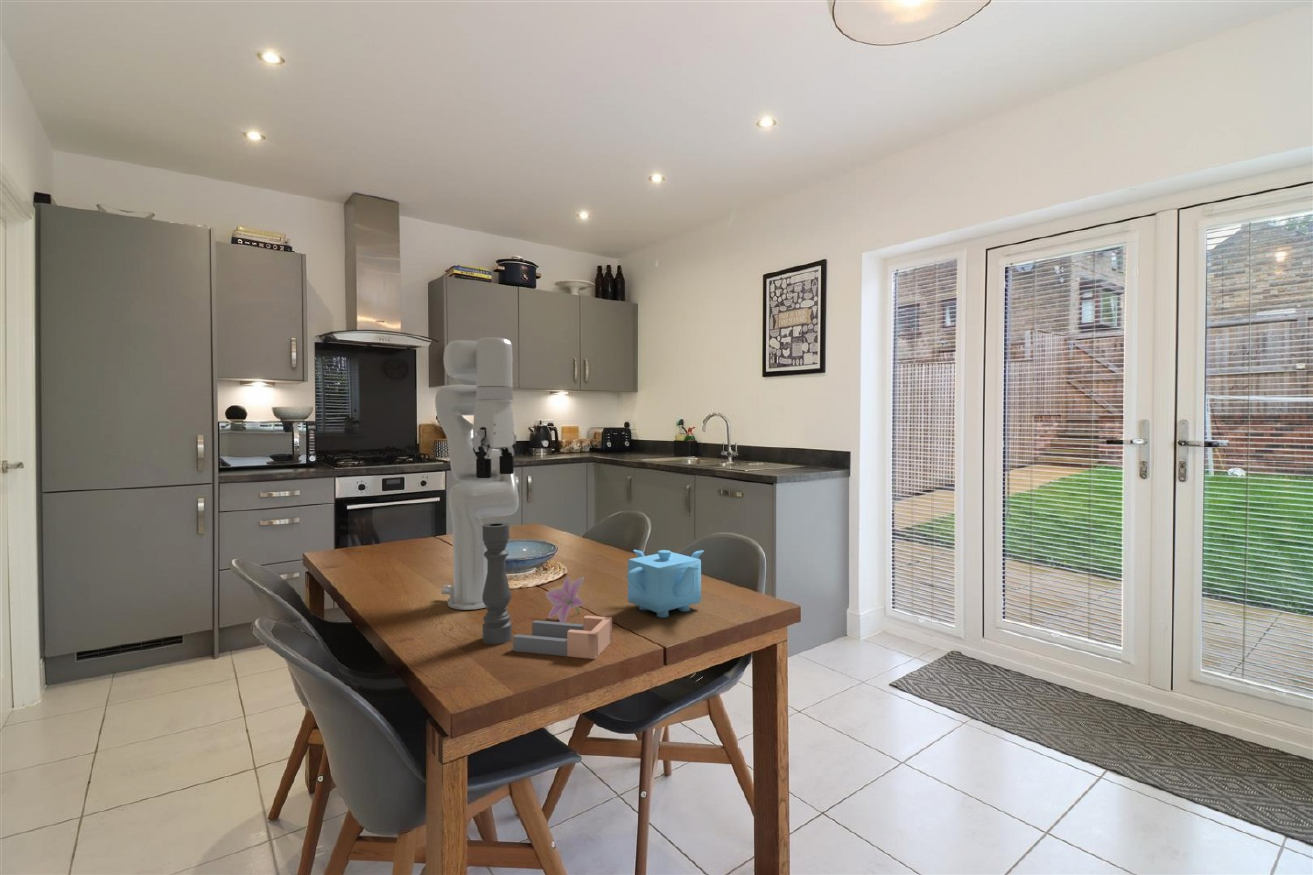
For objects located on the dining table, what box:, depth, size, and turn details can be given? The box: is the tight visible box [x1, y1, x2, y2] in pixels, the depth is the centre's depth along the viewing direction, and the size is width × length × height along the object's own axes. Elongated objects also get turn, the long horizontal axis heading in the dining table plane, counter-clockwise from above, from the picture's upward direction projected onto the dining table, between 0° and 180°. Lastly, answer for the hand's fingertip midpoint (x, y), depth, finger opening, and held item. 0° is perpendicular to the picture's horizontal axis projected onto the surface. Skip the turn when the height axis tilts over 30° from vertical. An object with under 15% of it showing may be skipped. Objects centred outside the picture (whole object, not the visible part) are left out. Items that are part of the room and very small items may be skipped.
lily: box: [545, 575, 585, 623], centre depth 147 cm, size 12×12×10 cm
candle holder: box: [482, 522, 513, 646], centre depth 132 cm, size 6×6×25 cm
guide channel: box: [512, 615, 613, 660], centre depth 129 cm, size 18×10×5 cm, turn 76°
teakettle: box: [626, 549, 705, 619], centre depth 154 cm, size 19×19×15 cm
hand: (495, 475), depth 132 cm, fingers open, 9 cm apart
